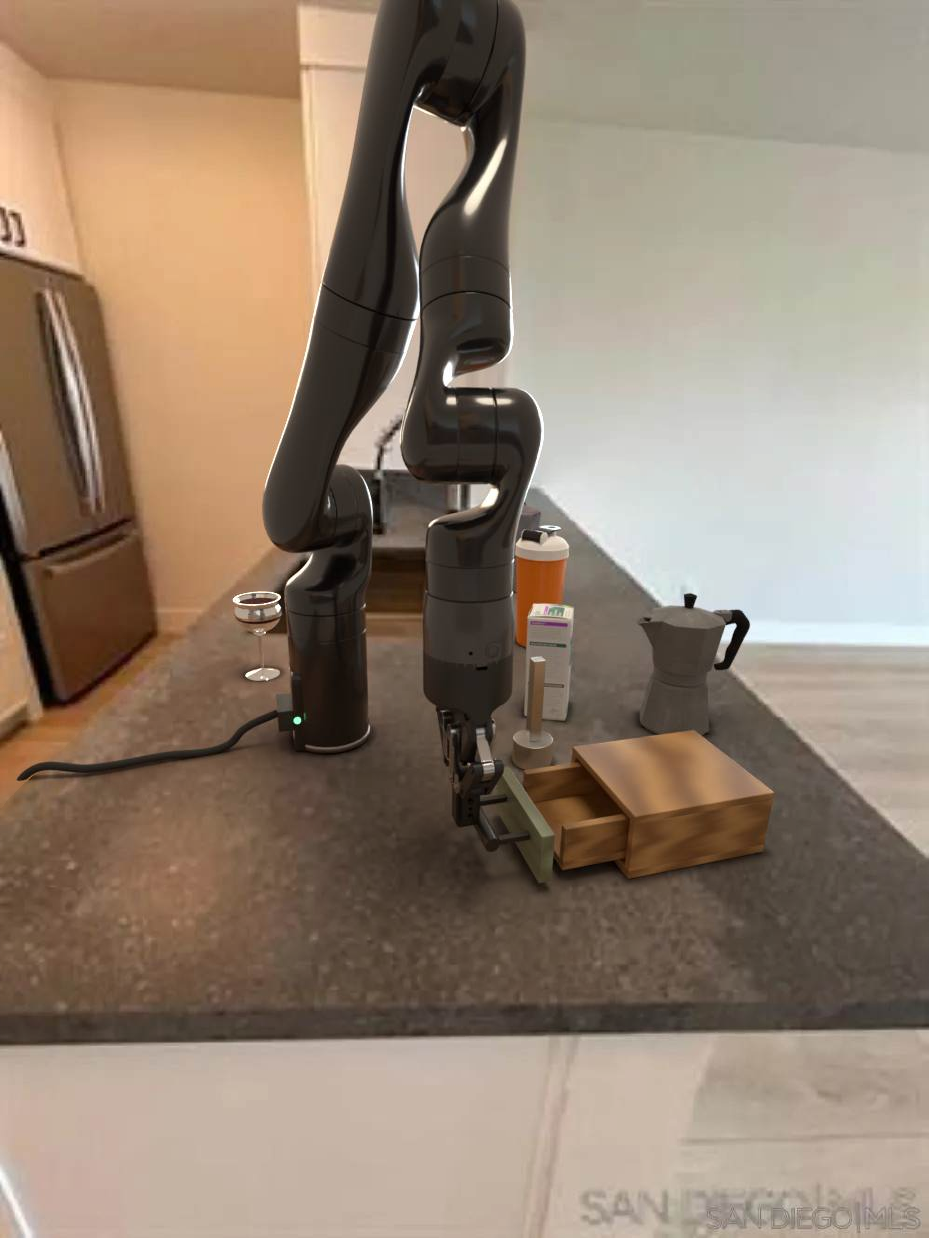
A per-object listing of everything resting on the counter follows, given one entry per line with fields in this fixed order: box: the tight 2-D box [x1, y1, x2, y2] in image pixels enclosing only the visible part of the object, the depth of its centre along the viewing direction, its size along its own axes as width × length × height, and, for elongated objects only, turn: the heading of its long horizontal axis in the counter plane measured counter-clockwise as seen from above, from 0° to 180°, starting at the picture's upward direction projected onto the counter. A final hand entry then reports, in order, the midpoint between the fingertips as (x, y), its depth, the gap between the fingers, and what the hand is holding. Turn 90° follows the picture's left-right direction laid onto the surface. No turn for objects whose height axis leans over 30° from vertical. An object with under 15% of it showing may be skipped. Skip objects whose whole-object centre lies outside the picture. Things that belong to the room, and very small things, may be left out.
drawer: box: [472, 762, 630, 884], centre depth 64 cm, size 18×11×5 cm, turn 107°
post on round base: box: [511, 657, 554, 771], centre depth 78 cm, size 5×5×13 cm
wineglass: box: [232, 591, 283, 682], centre depth 100 cm, size 7×7×12 cm
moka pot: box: [513, 501, 542, 593], centre depth 148 cm, size 10×15×20 cm, turn 171°
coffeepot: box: [636, 592, 751, 737], centre depth 87 cm, size 15×9×18 cm, turn 101°
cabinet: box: [571, 730, 775, 880], centre depth 67 cm, size 15×13×7 cm
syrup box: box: [523, 604, 575, 722], centre depth 90 cm, size 6×6×14 cm
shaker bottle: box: [515, 525, 570, 648], centre depth 114 cm, size 9×9×20 cm
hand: (465, 821), depth 61 cm, fingers closed
